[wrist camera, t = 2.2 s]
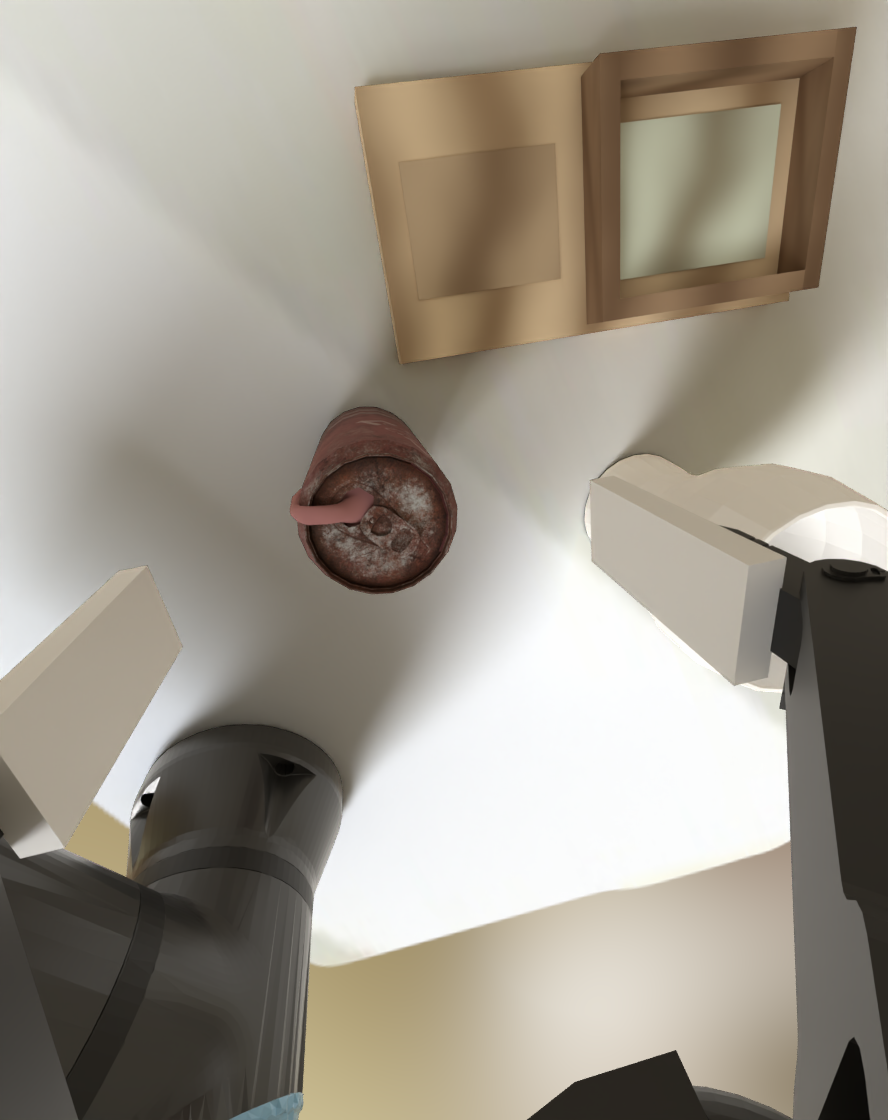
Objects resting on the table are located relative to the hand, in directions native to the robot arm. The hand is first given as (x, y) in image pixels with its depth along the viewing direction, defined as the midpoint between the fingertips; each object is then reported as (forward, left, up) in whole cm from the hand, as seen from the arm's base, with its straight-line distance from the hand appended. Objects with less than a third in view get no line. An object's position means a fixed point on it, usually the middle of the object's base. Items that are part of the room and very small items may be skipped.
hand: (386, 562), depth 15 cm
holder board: (+15, +11, -17) cm, 25 cm away
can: (0, 0, -18) cm, 18 cm away
